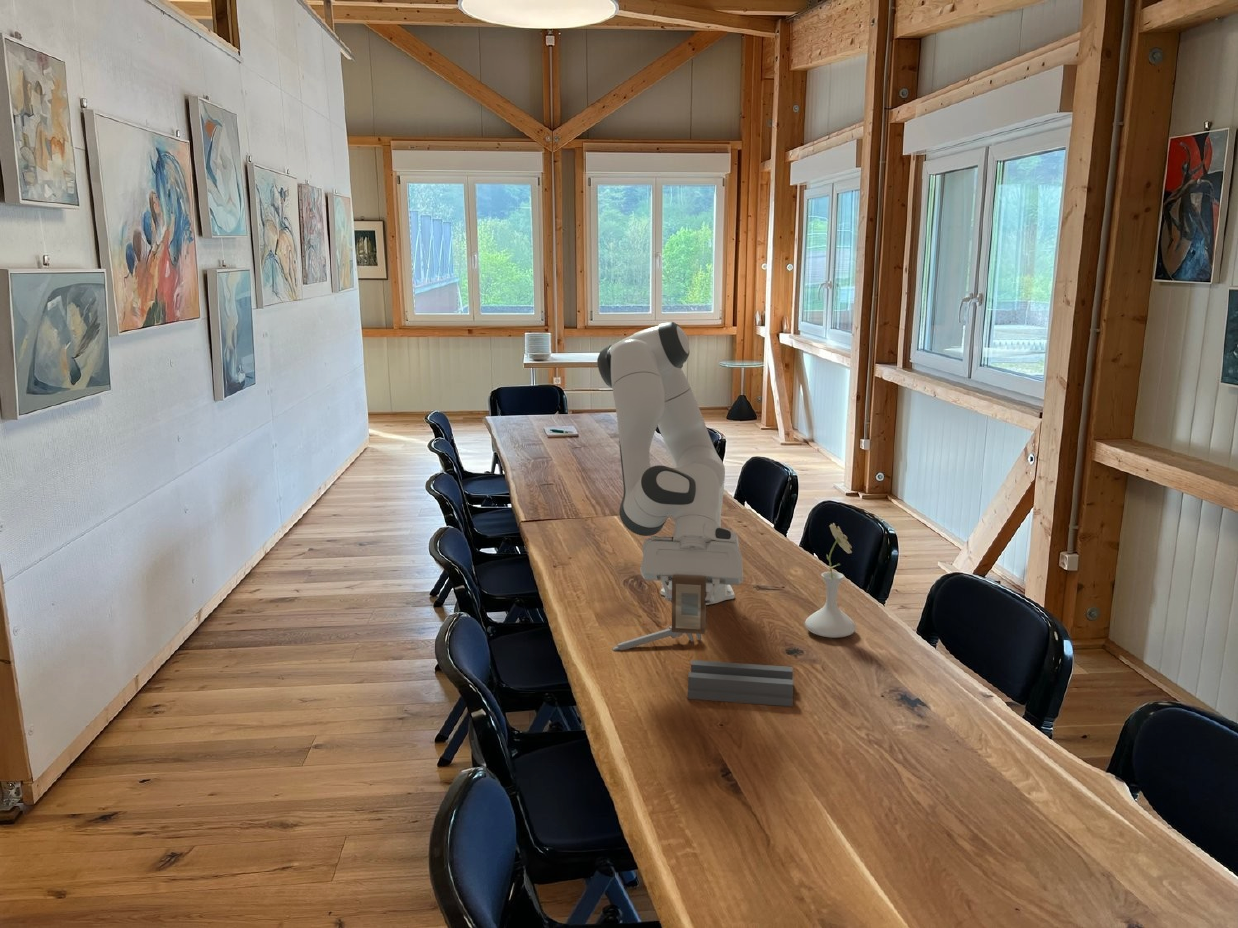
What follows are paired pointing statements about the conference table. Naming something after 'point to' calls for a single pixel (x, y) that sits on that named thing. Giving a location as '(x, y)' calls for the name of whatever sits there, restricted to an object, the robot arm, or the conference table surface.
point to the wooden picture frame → (688, 604)
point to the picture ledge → (741, 683)
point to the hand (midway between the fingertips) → (688, 601)
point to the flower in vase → (832, 600)
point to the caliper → (652, 638)
